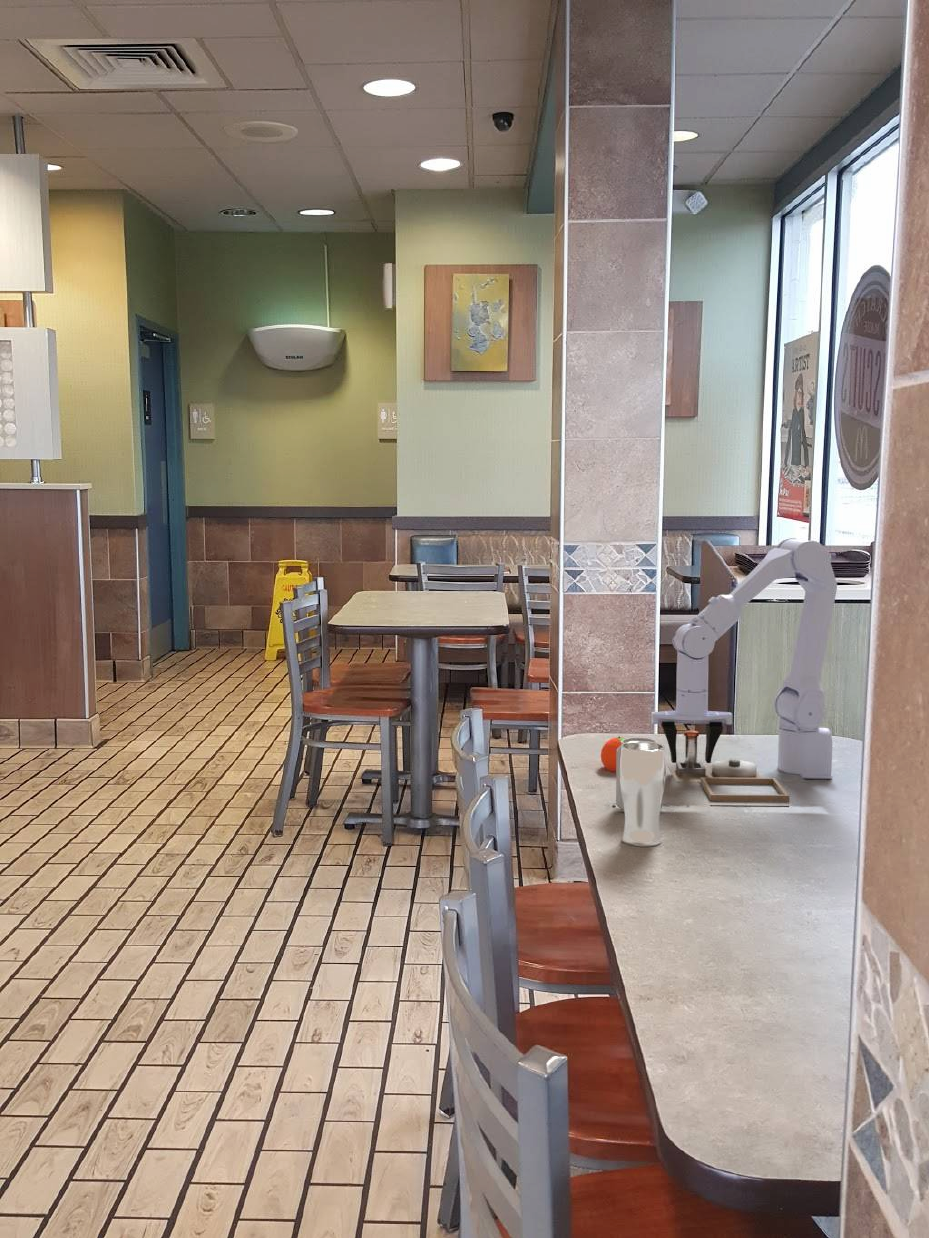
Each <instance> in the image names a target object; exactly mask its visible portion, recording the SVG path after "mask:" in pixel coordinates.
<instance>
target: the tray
mask: <svg viewBox="0 0 929 1238" xmlns="http://www.w3.org/2000/svg"><path fill="white" fill-rule="evenodd" d="M700 785H701V786H702V788H703V789H704V792H705V794H706V796H707V797H708V799H709V801H710V802H766V803H767V802H771V803H772V802H776V803H777V802H780V803H781V802H783V803H784V802H785V803H786V802H788V803H789V802H790V794H789V793H788V792H787V790H786V789H785V788H784V787H783V786H782V784H781V783H780V782H779V781H778V779H777V778H776V777H762V778H720V777H701V782H700ZM710 785H769V786H771V785H772V786H773V787H774V789H775V790H776V791H777V792H778V794H767V793H766V794H765V793H764V794H763V793H762V794H757V793H754V794H753V793H751V794H749V793H746V794H745V793H744V794H743V793H741V794H740V793H737V794H736V793H714V792H713V790H712V789H711V786H710ZM709 806H710V807H725V808H726V807H731V808H732V807H734V808H735V807H737V808H742V807H744V808H752V807H753V808H789V807H790V806H789V805H755V804H754V805H751V804H750V805H744V804H743V805H739V804H738V805H737V804H733V805H731V804H728V805H727V804H724V805H723V804H709Z"/></svg>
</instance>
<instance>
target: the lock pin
mask: <svg viewBox="0 0 929 1238" xmlns="http://www.w3.org/2000/svg"><path fill="white" fill-rule="evenodd" d="M683 736H684V739H685V740H684V741H685V742H684V762H685V768H697V762H698V737H699V736H700V732H699V731H698V730H684V731H683Z"/></svg>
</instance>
